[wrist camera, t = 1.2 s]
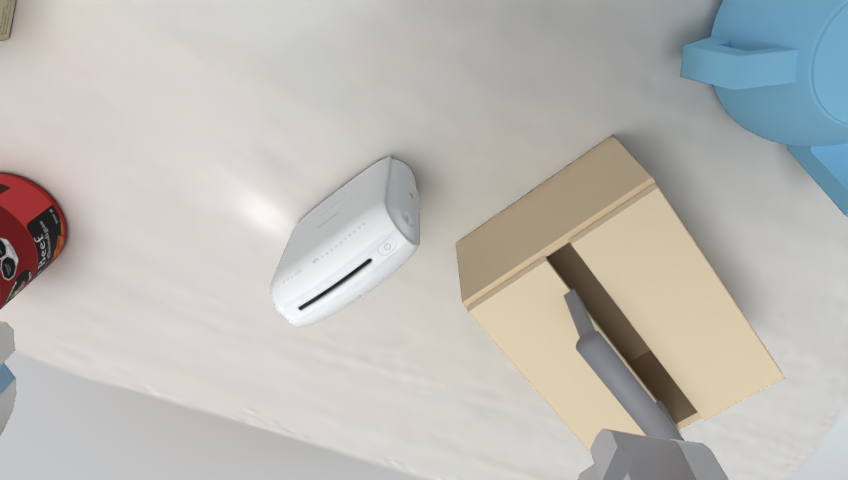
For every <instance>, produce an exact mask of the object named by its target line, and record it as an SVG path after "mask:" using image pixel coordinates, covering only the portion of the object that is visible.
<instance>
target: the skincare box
mask: <svg viewBox="0 0 848 480" xmlns="http://www.w3.org/2000/svg"><path fill="white" fill-rule="evenodd" d="M15 1H16V0H0V41H3V40H7V39H8V38H9V34H10V28H11V23H12V18H13V12H14V7H15Z"/></svg>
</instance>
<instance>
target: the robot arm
mask: <svg viewBox="0 0 848 480" xmlns="http://www.w3.org/2000/svg"><path fill="white" fill-rule="evenodd" d="M14 351H15V343H14V330H13V328H12V327H11V326H9V325H8V324H7V323H6V322H2V321H0V435H1V434H2V432H3V430H4V428H5V426H6V424H7V422H8V420H9V418H10V416H11V413H12V411H13V407H14V402H15V396H16V378H15V376H14V375H13V374H12V373H11V371H10V370H9V369H8V367H7V366H6V365H5V363H4V361H5V360H6V359H7V358H8V357H9V356H10V355H11V354H12V353H13V352H14ZM590 452H591V455H592V458H593V461H594V464H593V465H592V466H590V467H589V468H587V469H586V470H584V471H583V472H581V473H580V475H579V478H578V480H728V478H727V476H726V475H725V473H724V471H723V469H722V468H721V466H720V464H719V463H718V461H717V459H716V458H715V456H714V454H713V452H712V451H711V449H709V448H708V447H707V446H705V445H704V444H703V443H696V442H689V441H683V440H676V439H662V438H656V437H650V436H644V435H638V434H633V433H627V432H621V431H615V430H609V429H602V430H601V431H600V432H599V433H598V434H597V435H596V437H595V439H594V442H593V444H592V446H591V448H590Z"/></svg>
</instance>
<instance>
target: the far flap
mask: <svg viewBox="0 0 848 480" xmlns="http://www.w3.org/2000/svg"><path fill="white" fill-rule="evenodd" d="M467 310H468V313H469V314H470V315H471V317H472V318H473V319H474V320H475V321H476V322H477V323H478V325H479V326H480V327H481V328H482V329H483V330H484V332H485V333H486V334H487V335H488V336H489V337H490V338H491V340H492V341H493V342H494V343H495V344H496V345H497V346H498V348H499V349H500V350H501V351H502V352H503V353H504V354H505V356H506V357H507V358H508V359H509V360H510V361H511V363H512V364H513V365H514V366H515V367H516V368H517V369H518V371H519V372H520V373H521V374H522V375H523V376H524V377H525V379H526V380H527V381H528V382H529V383H530V384H531V386H532V387H533V388H534V389H535V390H536V391H537V392H538V394H539V395H540V396H541V397H542V398H543V399H544V400H545V402H546V403H547V404H548V405H549V406H550V407H551V409H552V410H553V411H554V412H555V413H556V414H557V415H558V417H559V418H560V419H561V420H562V421H563V422H564V423H565V425H566V426H567V427H568V428H569V429H570V430H571V431H572V433H573V434H574V435H575V436H576V437H577V438H578V440H579V441H580V442H581V443H582V444H583V445H584V446H585V448H586V449H587V450H588V451H589V452H590V448H591V446H592V444H593V442H594V439H595V437H596V435H597V434H598V433H599V432H600V431H601V430H602V429H609V430H615V431H621V432H627V433H633V434H638V435H644V436H650V437H656V438H662V439H676V440H683V441H685V440H684V439H683V438H682V437H681V435H680V434H681V432H680V430H679V428H678V426H677V425H676V424H675V422H674V421H673V419H672V417H671V415H670V413H669V411H668V409H667V407H666V406H665V405H664V403H663V402H662V401H661V400H659V401H658V400H657V399H656V398H655V397H654V395H653V394H652V393H651V391H650V390H649V389H648V388H647V386H646V385H645V384H644V383H643V381H642V380H641V379H640V377H639V376H638V375H637V374H636V372H635V371H634V370H633V368H632V367H631V366H630V365H629V363H628V362H627V361H626V359H625V358H624V357H623V356H622V354H621V353H620V352H619V350H618V349H617V348H616V347H615V345H614V344H613V343H612V342H611V340H610V339H609V338H608V336H607V335H606V334H605V333H604V331H603V330H602V329H601V327H600V326H599V325H598V324H597V322H596V321H595V320H594V318H593V317H592V316H591V315H590V313H589V312H588V311H587V309H586V308H585V305H584V303H583V301H582V298H581V297H580V295H579V294H578V293H577V291H576V290H575V289H572V290H571V289H570V288H569V286H568V285H567V284H566V283H565V281H564V280H563V279H562V277H561V276H560V275H559V274H558V272H557V271H556V270H555V268H554V267H553V266H552V265H551V263H550V262H549V261H548V260H547V258H546V257H545V256H543V257H542V258H540V259H539V260H537V261H536V262H534V263H533V264H531V265H530V266H528V267H527V268H525V269H524V270H522V271H521V272H519V273H518V274H516V275H514V276H513V277H511V278H510V279H508V280H507V281H505V282H504V283H502V284H501V285H499V286H498V287H496V288H495V289H493V290H492V291H490V292H489V293H487V294H486V295H484V296H483V297H481V298H480V299H478V300H476V301H475V302H473V303H472V304H470V305H469V306H467ZM590 453H591V452H590Z"/></svg>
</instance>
